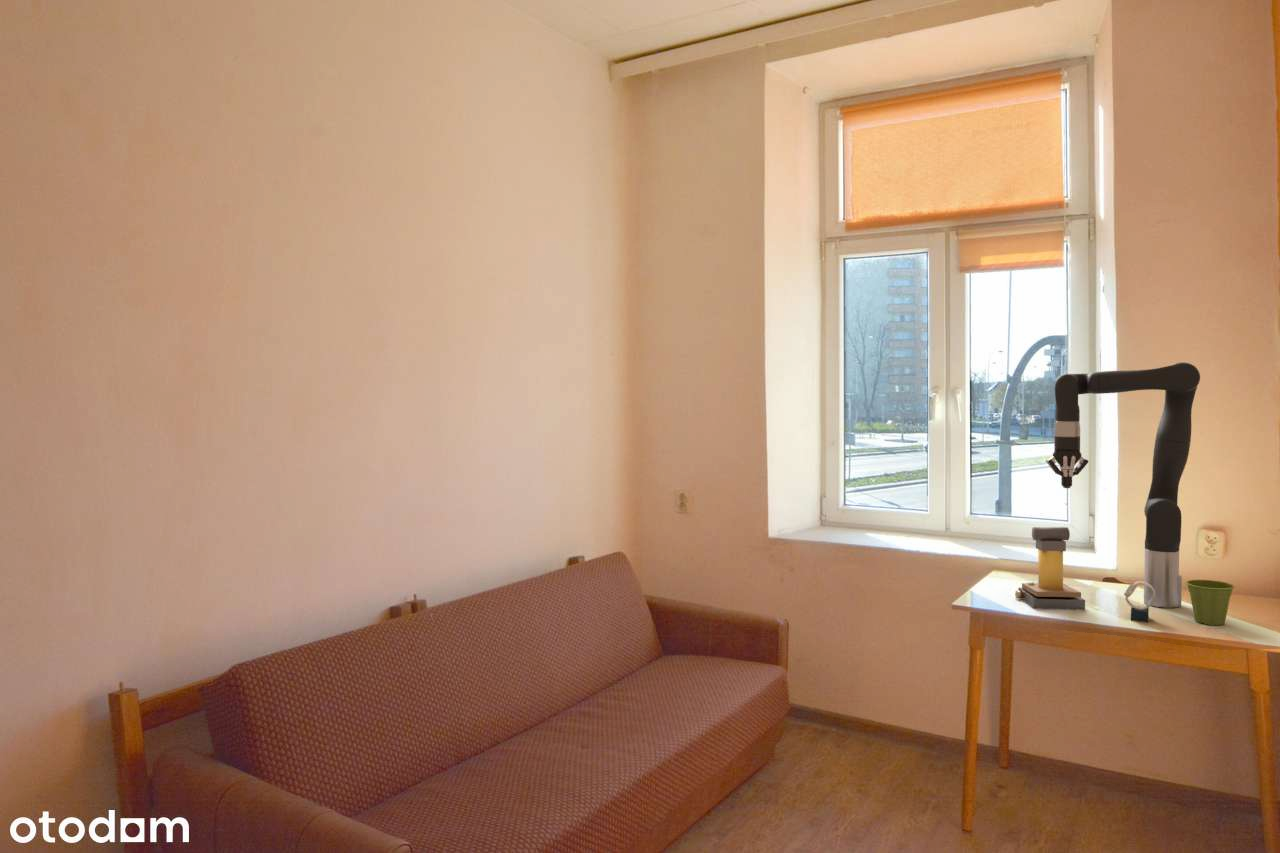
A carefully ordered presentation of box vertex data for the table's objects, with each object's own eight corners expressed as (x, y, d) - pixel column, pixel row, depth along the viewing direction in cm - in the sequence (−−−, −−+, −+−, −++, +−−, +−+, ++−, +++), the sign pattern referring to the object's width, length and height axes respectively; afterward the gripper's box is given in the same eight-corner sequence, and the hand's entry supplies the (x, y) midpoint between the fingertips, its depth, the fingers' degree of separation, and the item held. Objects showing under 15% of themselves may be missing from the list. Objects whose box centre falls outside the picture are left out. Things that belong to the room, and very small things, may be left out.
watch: (1123, 615, 254) (1124, 578, 254) (1155, 618, 250) (1156, 581, 250) (1123, 619, 250) (1123, 582, 249) (1155, 623, 245) (1155, 585, 245)
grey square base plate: (1070, 596, 277) (1070, 587, 277) (1090, 609, 261) (1090, 600, 260) (1011, 595, 279) (1011, 586, 279) (1028, 608, 263) (1028, 598, 263)
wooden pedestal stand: (1064, 588, 275) (1064, 524, 275) (1081, 597, 261) (1080, 530, 261) (1022, 587, 277) (1021, 524, 277) (1036, 596, 263) (1036, 529, 263)
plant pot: (1214, 616, 252) (1215, 578, 251) (1244, 627, 240) (1245, 588, 239) (1175, 617, 251) (1176, 579, 251) (1203, 628, 240) (1204, 588, 239)
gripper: (1050, 435, 276) (1049, 489, 276) (1093, 435, 274) (1092, 489, 275) (1042, 434, 283) (1041, 486, 284) (1084, 434, 281) (1083, 486, 282)
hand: (1066, 487), depth 279 cm, fingers closed
